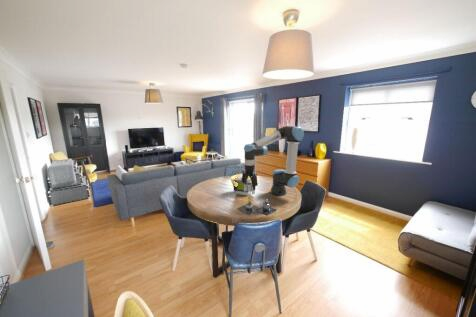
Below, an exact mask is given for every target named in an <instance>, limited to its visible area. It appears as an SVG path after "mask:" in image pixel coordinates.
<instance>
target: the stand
mask: <svg viewBox="0 0 476 317" xmlns="http://www.w3.org/2000/svg"><path fill="white" fill-rule="evenodd" d="M256 210H257V209H256ZM276 210H277V211H278V209H277V208H273V207H271V203H270V202H269V198H264V202H262V206H261V207H260V209H258V211H257V212H259V213H261V214H263V215H265V216H270V215H271V214H273V213H275V212H277V211H276Z"/></svg>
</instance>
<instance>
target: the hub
mask: <svg viewBox="0 0 476 317" xmlns="http://www.w3.org/2000/svg"><path fill="white" fill-rule="evenodd" d="M256 209H257V210H256ZM258 209H260V207H259V206H257V205H254V204H253V203H252V197H251V196H249V197H248V196H247V203H246V204H243V205H242V206H239V207H238V208H237V210H239V211H241V212H243V213H245V214H247V215H250V216H251V215H252V214H254V212H255V213H257V212H259V211H258Z"/></svg>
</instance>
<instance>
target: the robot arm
mask: <svg viewBox="0 0 476 317" xmlns="http://www.w3.org/2000/svg"><path fill="white" fill-rule="evenodd" d="M304 136H305V132H304V130H303V128H302V127H300V126H291V125H289V126H288V125H286V126H281V127H280V128H277V129H276V130H274V131H273V132H272V133H270V134H269V135H266V136H263V137H261V138H260V139H258V140H256V141H254V142H252V143H247V144H245V145H244V147H243V151H244V170H242V171H241V172H242V174H241V177H242V182H243V185H244V183H246V181H247V179H248V178H251V182H252V185H253V186H252V191H251V195H255V193H256V187H257V186H259V185H258V176H257V175H258V173H257V172H255V157H261V156H266V155H268V147H267V146H268V145H271V144H272V143H275V142H277V141H280V140H286V143H287V152H286V163H285V169H284V168H283V169H282V168H281V169H278V168H277V169H275V170H273V171H272V186H271V189H270V194H272V195H273V196H286V194H287V189H286V187H287V188H292V189H294V188H296V187H297V186H298V184H299V183H300V176H298V172H297V171H296V168H297V159H298V151H299V150H298V148H299V144H301V141H302V140H303V139H304ZM244 191H245V190H244Z"/></svg>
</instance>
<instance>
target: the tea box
mask: <svg viewBox="0 0 476 317" xmlns="http://www.w3.org/2000/svg"><path fill="white" fill-rule="evenodd" d="M232 180H233V181H235V182H237V183H238V186H237V187H235V186H234V185H233V194H234V195H241V196H247V197H248V196H249V195H250V194H252V191H251V192H248V191H244V185H243V182H242V176H241V177H240V176H236V177H235V178H234V179H232ZM250 181H251V178H250V177H248V179H247V181H246V182H247V183H248V182H250Z"/></svg>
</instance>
